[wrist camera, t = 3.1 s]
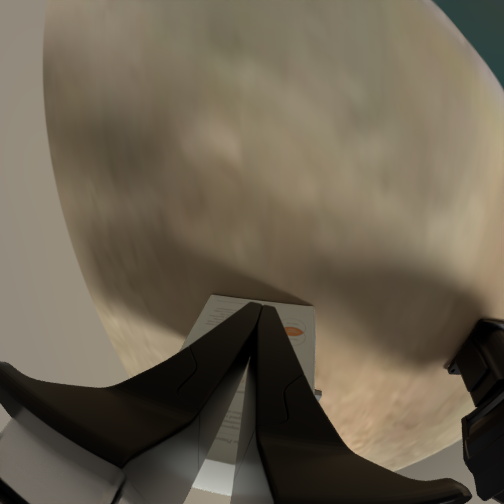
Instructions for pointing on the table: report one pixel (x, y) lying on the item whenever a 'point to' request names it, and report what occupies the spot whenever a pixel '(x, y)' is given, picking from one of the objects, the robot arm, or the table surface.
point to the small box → (226, 441)
